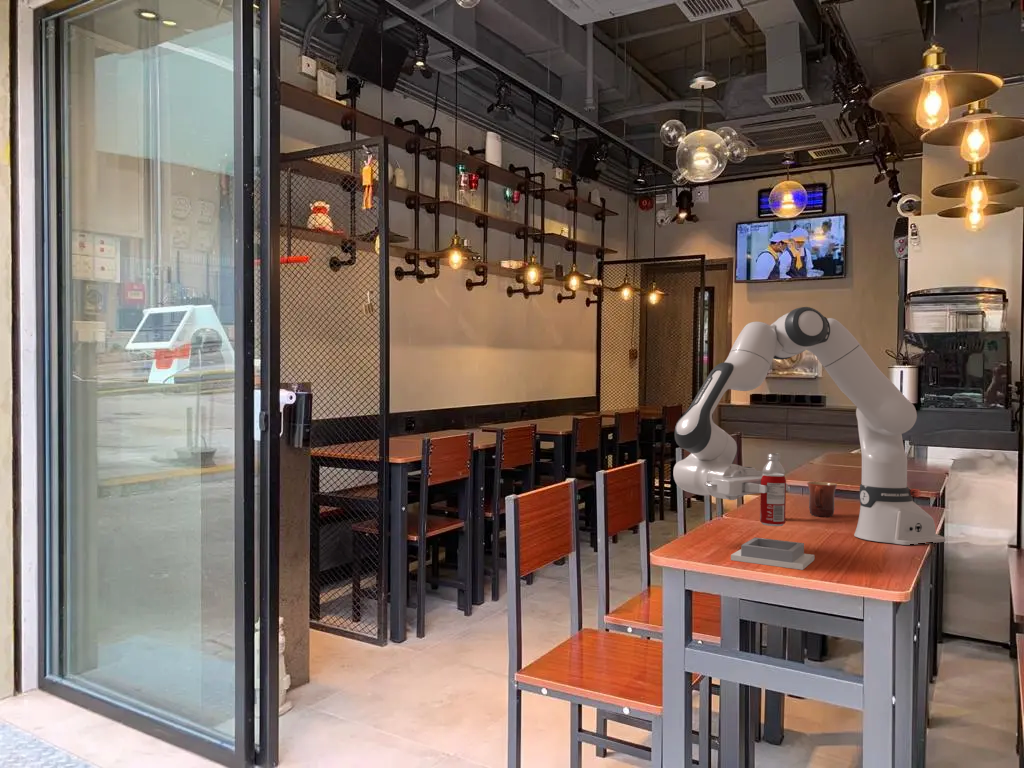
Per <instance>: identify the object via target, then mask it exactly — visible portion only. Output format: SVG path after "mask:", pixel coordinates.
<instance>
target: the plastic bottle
mask: <svg viewBox="0 0 1024 768" xmlns="http://www.w3.org/2000/svg"><path fill="white" fill-rule="evenodd" d="M766 460H767V462H766V464H765V465H763V468H762V470H761V471H764V472H769V473H780V474H784V475H785V473H786V471H785V468H784V466H783V465H782V463H781V462H780V461H781V453H776V452H775V453H772V452H771V453H767V458H766Z"/></svg>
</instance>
